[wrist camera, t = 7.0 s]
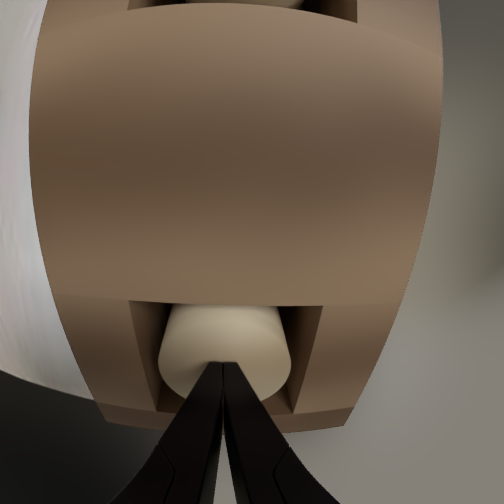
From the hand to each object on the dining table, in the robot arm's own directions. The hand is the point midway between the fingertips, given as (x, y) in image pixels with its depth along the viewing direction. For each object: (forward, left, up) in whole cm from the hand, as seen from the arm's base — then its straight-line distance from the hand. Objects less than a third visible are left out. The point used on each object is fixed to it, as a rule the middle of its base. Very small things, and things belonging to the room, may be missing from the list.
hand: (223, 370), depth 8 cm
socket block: (+6, +2, -6) cm, 8 cm away
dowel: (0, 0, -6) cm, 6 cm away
